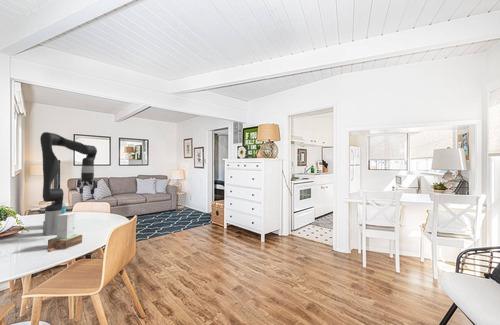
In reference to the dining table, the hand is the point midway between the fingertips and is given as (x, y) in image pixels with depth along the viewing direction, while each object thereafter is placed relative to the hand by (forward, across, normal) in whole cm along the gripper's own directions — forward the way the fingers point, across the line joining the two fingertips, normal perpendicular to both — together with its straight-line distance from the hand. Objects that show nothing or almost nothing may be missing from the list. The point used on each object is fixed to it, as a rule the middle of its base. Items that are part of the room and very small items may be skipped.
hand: (86, 193), depth 164 cm
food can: (+30, -38, +14) cm, 51 cm away
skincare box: (+25, +5, -21) cm, 33 cm away
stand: (+30, +5, -21) cm, 37 cm away
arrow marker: (+30, +5, -30) cm, 43 cm away
